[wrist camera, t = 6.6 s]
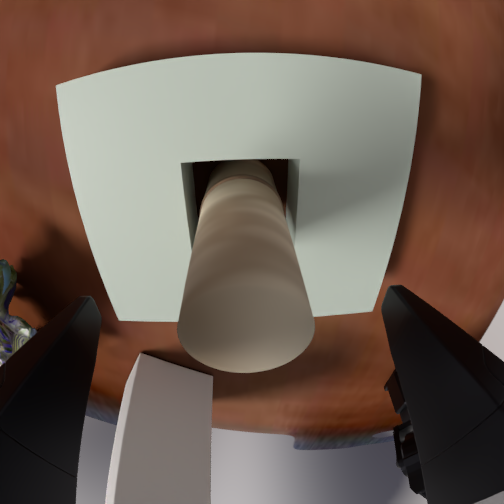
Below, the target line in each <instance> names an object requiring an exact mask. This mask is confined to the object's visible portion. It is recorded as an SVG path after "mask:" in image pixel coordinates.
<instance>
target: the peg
mask: <svg viewBox="0 0 504 504" xmlns="http://www.w3.org/2000/svg"><path fill="white" fill-rule="evenodd" d="M314 330H315V322H314V318H313V314H312V310H311V306H310V303H309V299H308V295H307V291H306V288H305V284H304V281H303V277H302V273H301V270H300V266H299V263H298V259H297V256H296V252H295V249H294V245H293V242H292V238H291V235H290V232H289V228H288V225H287V222H286V218H285V215H284V209H283V204H282V201H281V198H280V196H279V194H278V192H277V189H276V186H275V183H274V179H273V177H272V174H271V172H270V171H269V169H268V168H267V167H266V166H265V165H264V164H263V163H262V162H260V161H258V160H256V159H241V160H224V161H222V162H221V163H220V164H218V165H217V166H216V167H215V169H214V170H213V171H212V173H211V175H210V177H209V180H208V184H207V188H206V192H205V196H204V198H203V201H202V204H201V208H200V217H199V222H198V226H197V231H196V235H195V240H194V244H193V249H192V253H191V258H190V263H189V268H188V273H187V278H186V283H185V288H184V293H183V298H182V303H181V309H180V314H179V320H178V325H177V333H178V338H179V340H180V343H181V344H182V346H183V348H184V349H185V350H186V351H187V352H188V353H189V354H190V355H191V356H192V357H193V358H195V359H196V360H197V361H199V362H201V363H203V364H205V365H207V366H209V367H212V368H215V369H218V370H222V371H228V372H236V373H252V372H261V371H266V370H270V369H273V368H276V367H279V366H282V365H284V364H286V363H288V362H290V361H292V360H293V359H295V358H296V357H297V356H299V355H300V354H301V353H302V352H303V351H304V350H305V349H306V348H307V347H308V345H309V344H310V342H311V340H312V338H313V335H314Z"/></svg>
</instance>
